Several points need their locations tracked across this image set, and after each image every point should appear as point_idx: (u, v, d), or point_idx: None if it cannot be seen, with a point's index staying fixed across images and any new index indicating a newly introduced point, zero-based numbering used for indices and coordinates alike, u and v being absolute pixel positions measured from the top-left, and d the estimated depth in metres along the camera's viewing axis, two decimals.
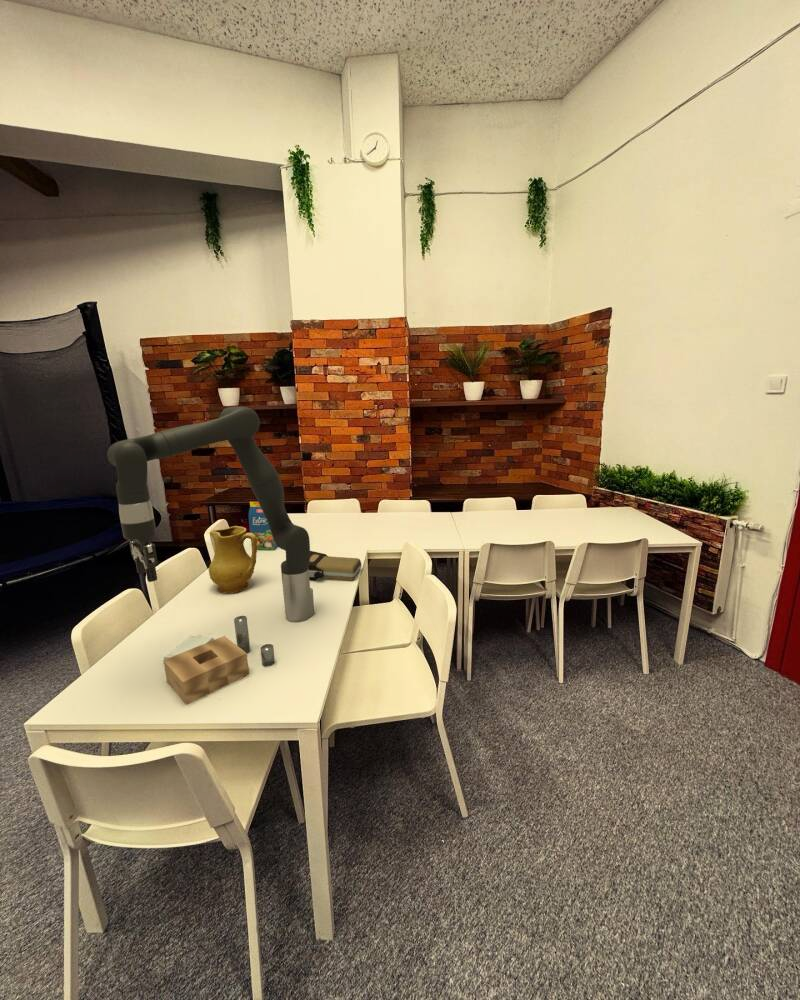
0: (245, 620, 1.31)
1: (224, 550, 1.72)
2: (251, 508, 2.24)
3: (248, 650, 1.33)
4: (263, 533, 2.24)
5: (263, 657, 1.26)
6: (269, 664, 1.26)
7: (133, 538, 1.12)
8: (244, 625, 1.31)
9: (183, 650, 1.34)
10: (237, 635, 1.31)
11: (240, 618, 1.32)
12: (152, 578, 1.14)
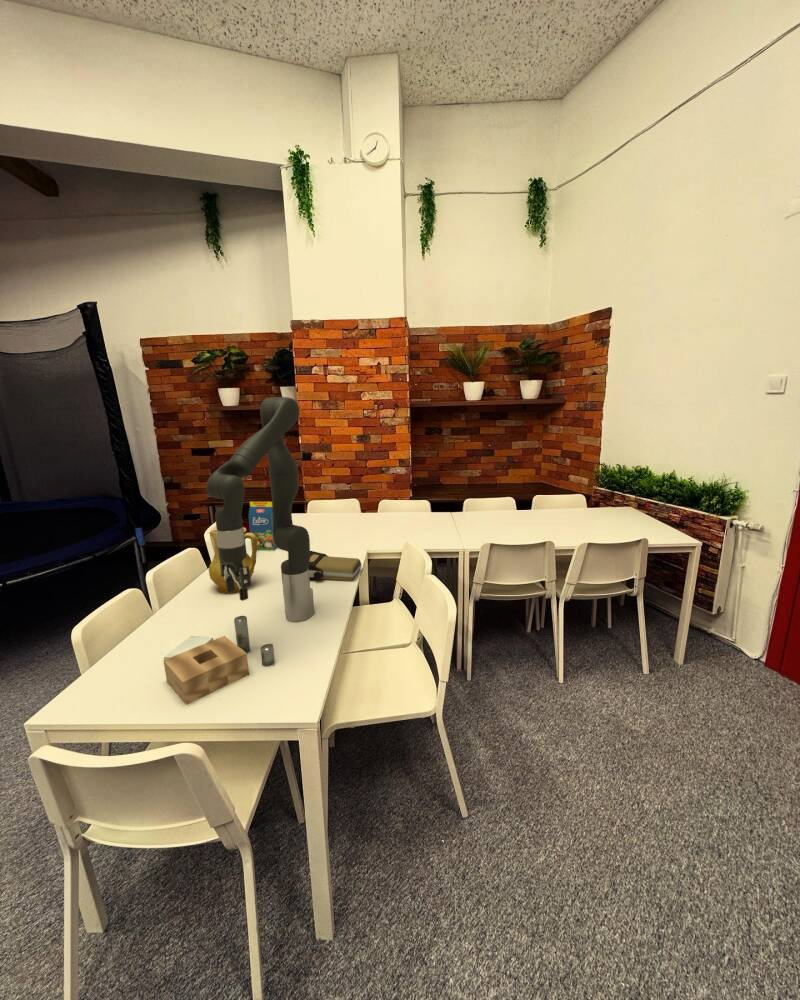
0: (245, 620, 1.31)
1: None
2: (251, 508, 2.24)
3: (248, 650, 1.33)
4: (263, 533, 2.24)
5: (263, 657, 1.26)
6: (269, 664, 1.26)
7: (229, 561, 1.24)
8: (244, 625, 1.31)
9: (183, 650, 1.34)
10: (237, 635, 1.31)
11: (240, 618, 1.32)
12: (244, 597, 1.26)
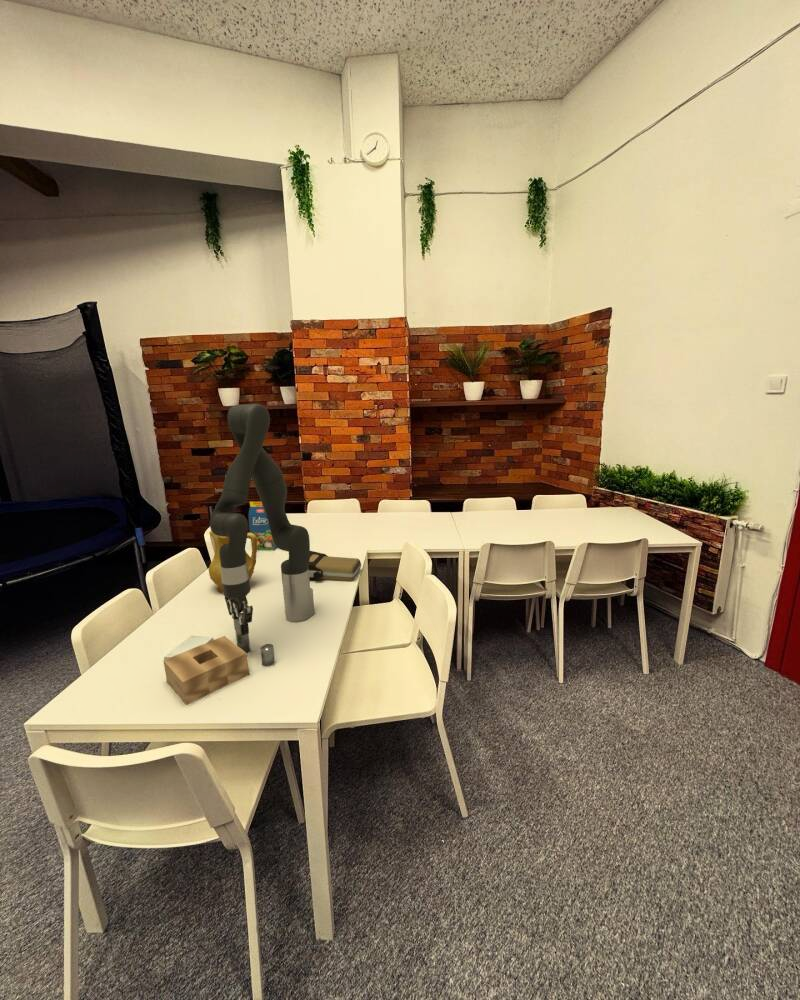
0: None
1: None
2: (251, 508, 2.24)
3: (248, 650, 1.33)
4: (263, 533, 2.24)
5: (263, 657, 1.26)
6: (269, 664, 1.26)
7: (233, 597, 1.26)
8: None
9: (183, 650, 1.34)
10: (237, 635, 1.31)
11: None
12: (245, 632, 1.30)
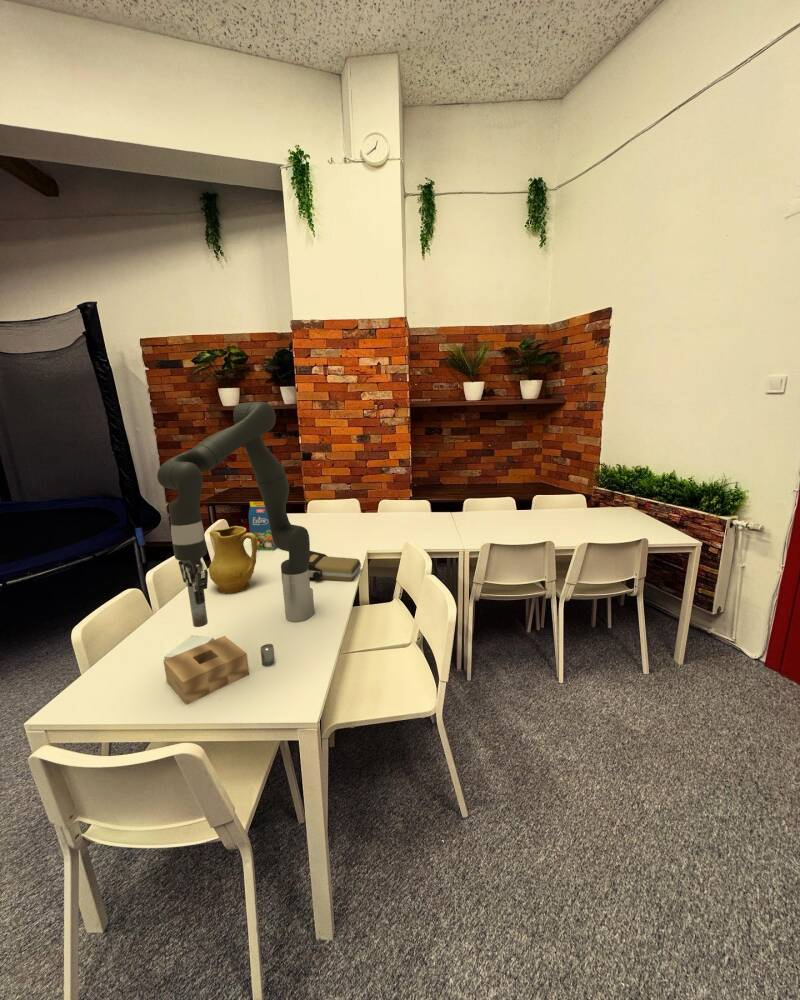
0: None
1: (224, 550, 1.72)
2: (251, 508, 2.24)
3: (205, 622, 1.17)
4: (263, 533, 2.24)
5: (263, 657, 1.26)
6: (269, 664, 1.26)
7: (185, 559, 1.10)
8: None
9: (184, 649, 1.34)
10: (191, 604, 1.15)
11: None
12: (200, 601, 1.14)
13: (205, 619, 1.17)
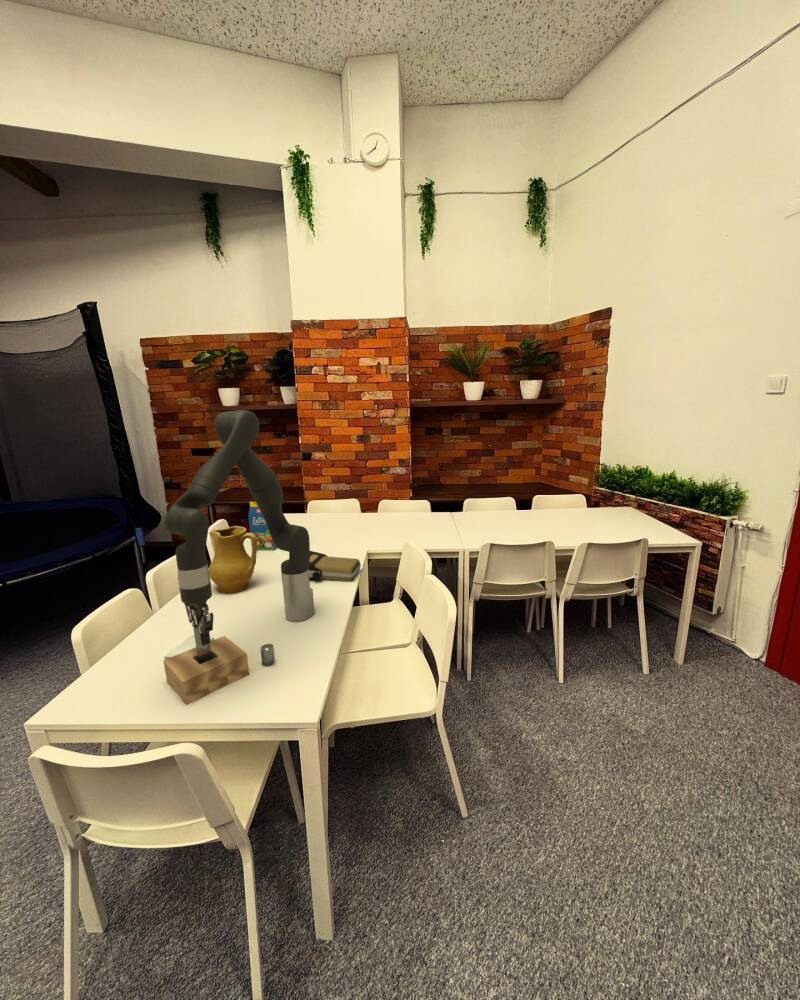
0: None
1: (224, 550, 1.72)
2: (251, 508, 2.24)
3: None
4: (263, 533, 2.24)
5: (263, 657, 1.26)
6: (269, 664, 1.26)
7: (192, 603, 1.13)
8: None
9: (184, 649, 1.34)
10: (197, 645, 1.18)
11: None
12: (206, 642, 1.17)
13: (210, 659, 1.20)
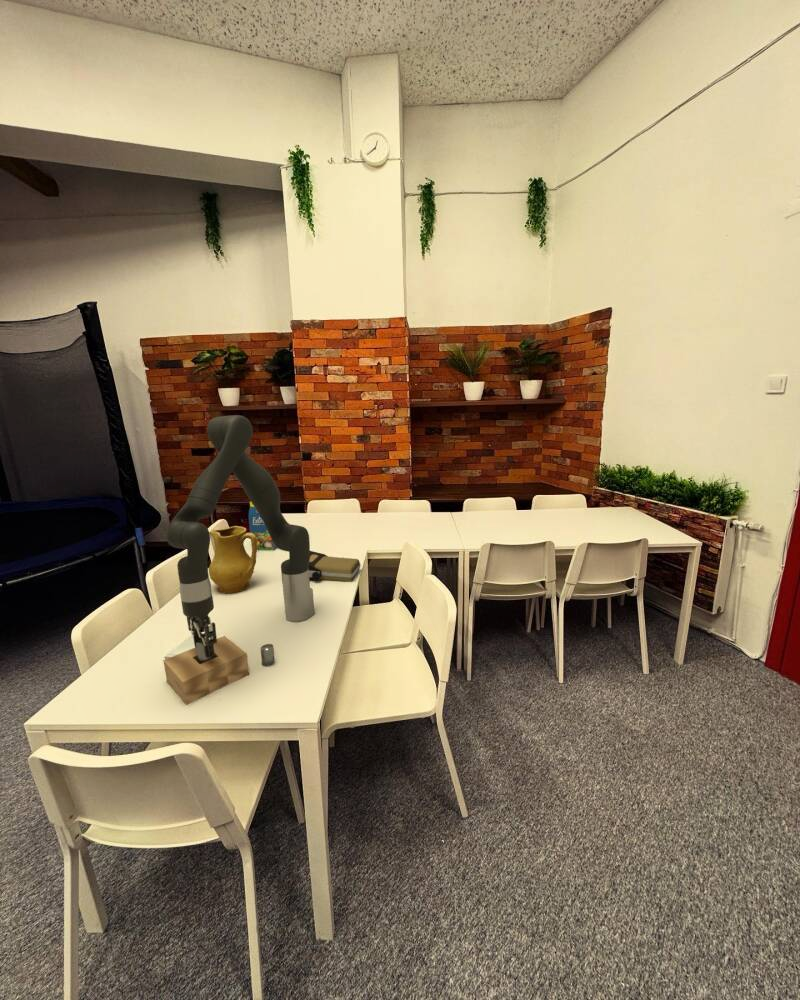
0: None
1: (224, 550, 1.72)
2: (251, 508, 2.24)
3: None
4: (263, 533, 2.24)
5: (263, 657, 1.26)
6: (269, 664, 1.26)
7: (194, 616, 1.14)
8: None
9: (184, 649, 1.34)
10: (199, 660, 1.19)
11: None
12: (210, 654, 1.16)
13: None
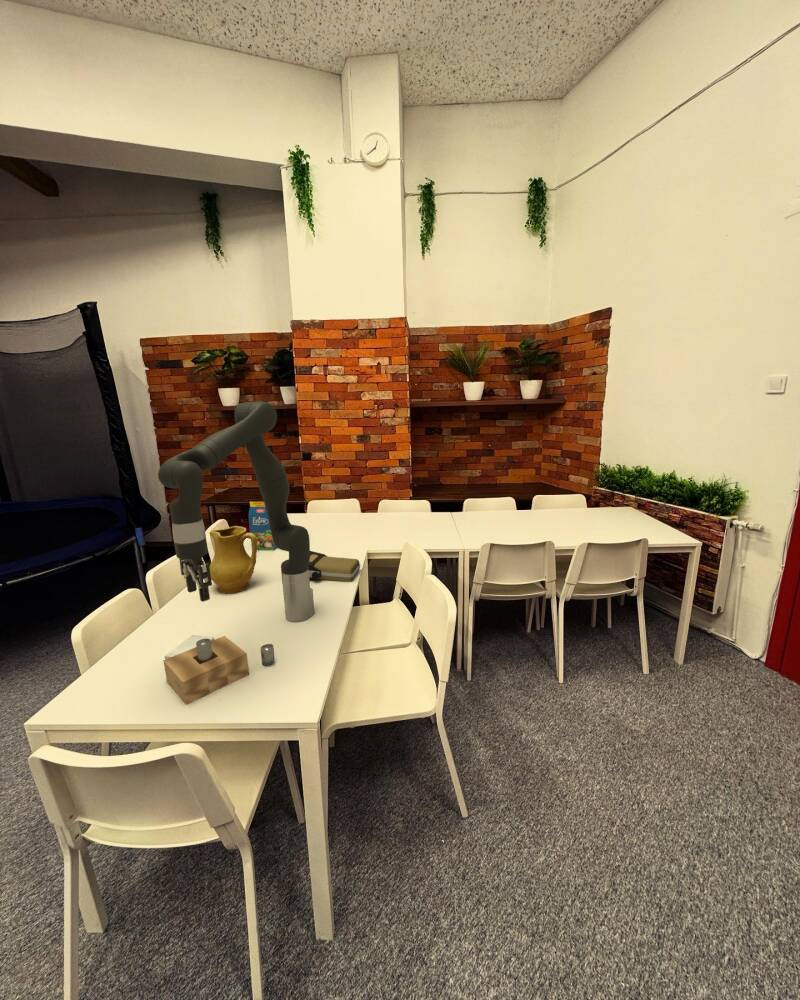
0: (208, 644, 1.19)
1: (224, 550, 1.72)
2: (251, 508, 2.24)
3: None
4: (263, 533, 2.24)
5: (263, 657, 1.26)
6: (269, 664, 1.26)
7: (187, 558, 1.11)
8: (208, 649, 1.19)
9: (184, 649, 1.34)
10: (199, 660, 1.19)
11: (203, 641, 1.19)
12: (205, 598, 1.13)
13: None
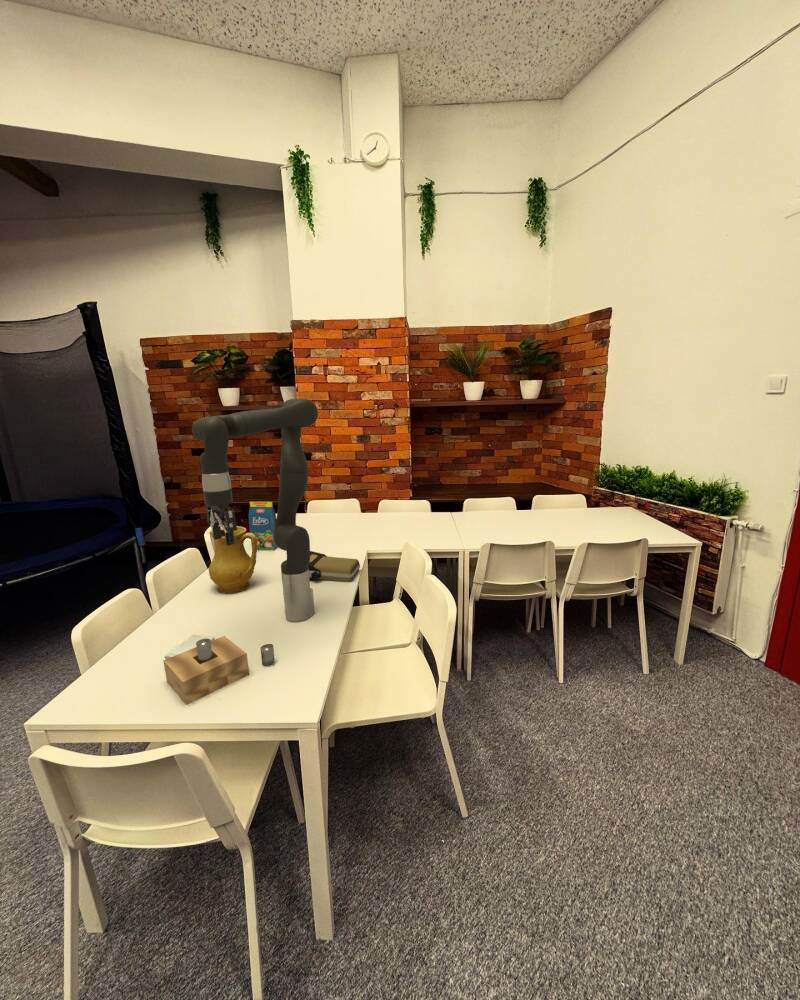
0: (208, 644, 1.19)
1: (224, 550, 1.72)
2: (251, 508, 2.24)
3: None
4: (263, 533, 2.24)
5: (263, 657, 1.26)
6: (269, 664, 1.26)
7: (215, 505, 1.24)
8: (208, 649, 1.19)
9: (184, 649, 1.34)
10: (199, 660, 1.19)
11: (203, 641, 1.19)
12: (230, 542, 1.26)
13: None
